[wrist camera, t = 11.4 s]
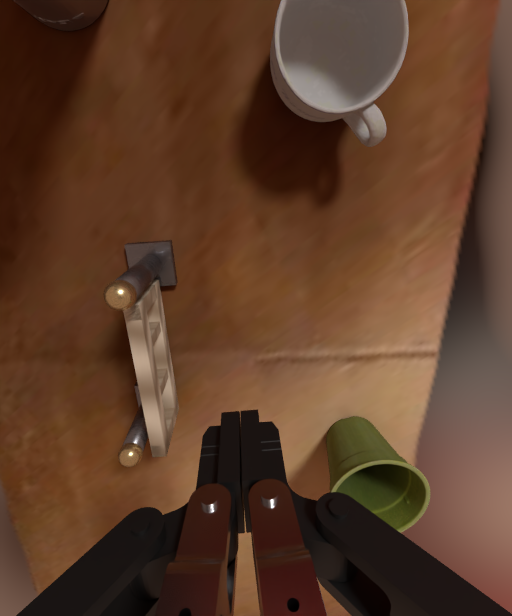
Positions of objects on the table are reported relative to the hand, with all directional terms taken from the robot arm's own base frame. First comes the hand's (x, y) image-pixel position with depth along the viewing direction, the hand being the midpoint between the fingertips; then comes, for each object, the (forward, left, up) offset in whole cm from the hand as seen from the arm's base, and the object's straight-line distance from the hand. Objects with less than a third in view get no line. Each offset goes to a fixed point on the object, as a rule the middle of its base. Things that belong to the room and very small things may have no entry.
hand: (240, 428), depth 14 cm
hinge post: (-1, -10, -29) cm, 30 cm away
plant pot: (+26, +14, -29) cm, 41 cm away
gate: (+9, -10, -27) cm, 30 cm away
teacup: (-18, +10, -29) cm, 36 cm away
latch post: (+16, -12, -29) cm, 35 cm away
